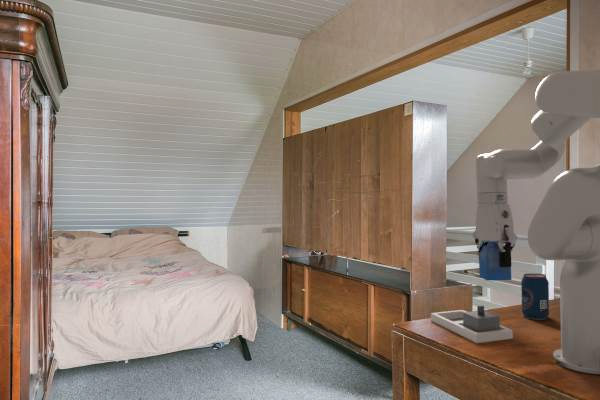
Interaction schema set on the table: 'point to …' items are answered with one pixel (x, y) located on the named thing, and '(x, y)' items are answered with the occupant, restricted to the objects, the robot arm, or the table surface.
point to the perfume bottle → (492, 263)
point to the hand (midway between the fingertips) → (494, 264)
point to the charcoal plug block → (481, 320)
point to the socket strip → (455, 324)
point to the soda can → (535, 296)
